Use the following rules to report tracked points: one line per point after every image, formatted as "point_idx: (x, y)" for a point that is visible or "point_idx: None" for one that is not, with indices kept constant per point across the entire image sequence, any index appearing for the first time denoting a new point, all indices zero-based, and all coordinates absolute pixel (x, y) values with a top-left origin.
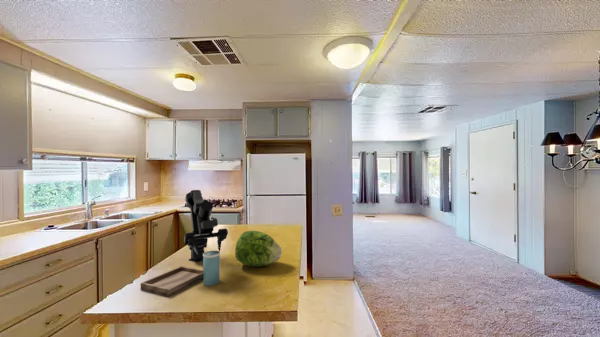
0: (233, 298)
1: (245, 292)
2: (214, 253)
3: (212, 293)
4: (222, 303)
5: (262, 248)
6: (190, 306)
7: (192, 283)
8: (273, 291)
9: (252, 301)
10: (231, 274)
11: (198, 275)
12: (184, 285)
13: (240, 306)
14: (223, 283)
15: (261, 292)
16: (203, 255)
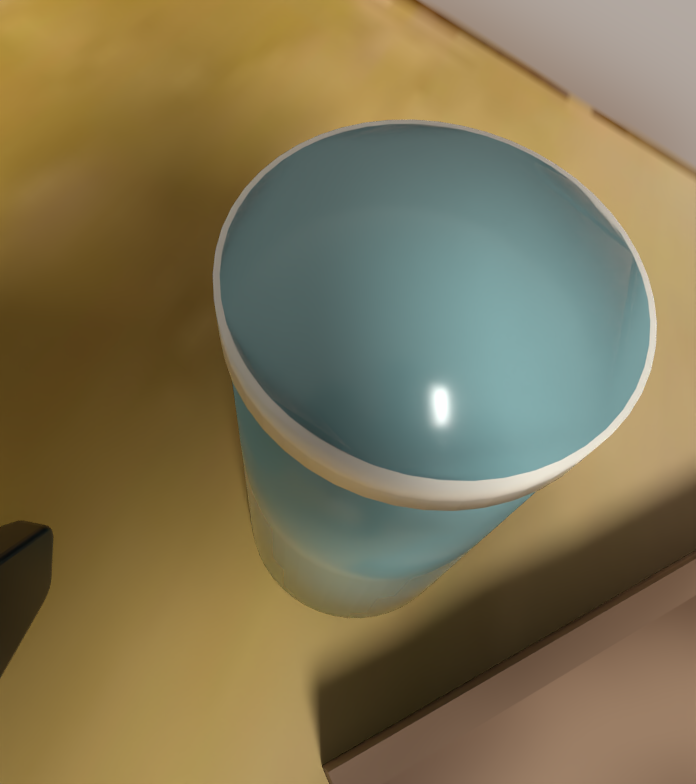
0: (333, 104)
1: (206, 114)
2: (390, 195)
3: None
4: (430, 101)
5: None
6: (643, 203)
7: (576, 621)
8: (37, 4)
9: (252, 7)
10: None
11: (509, 668)
12: (693, 556)
13: (348, 13)
14: None
15: (113, 44)
16: (640, 300)
